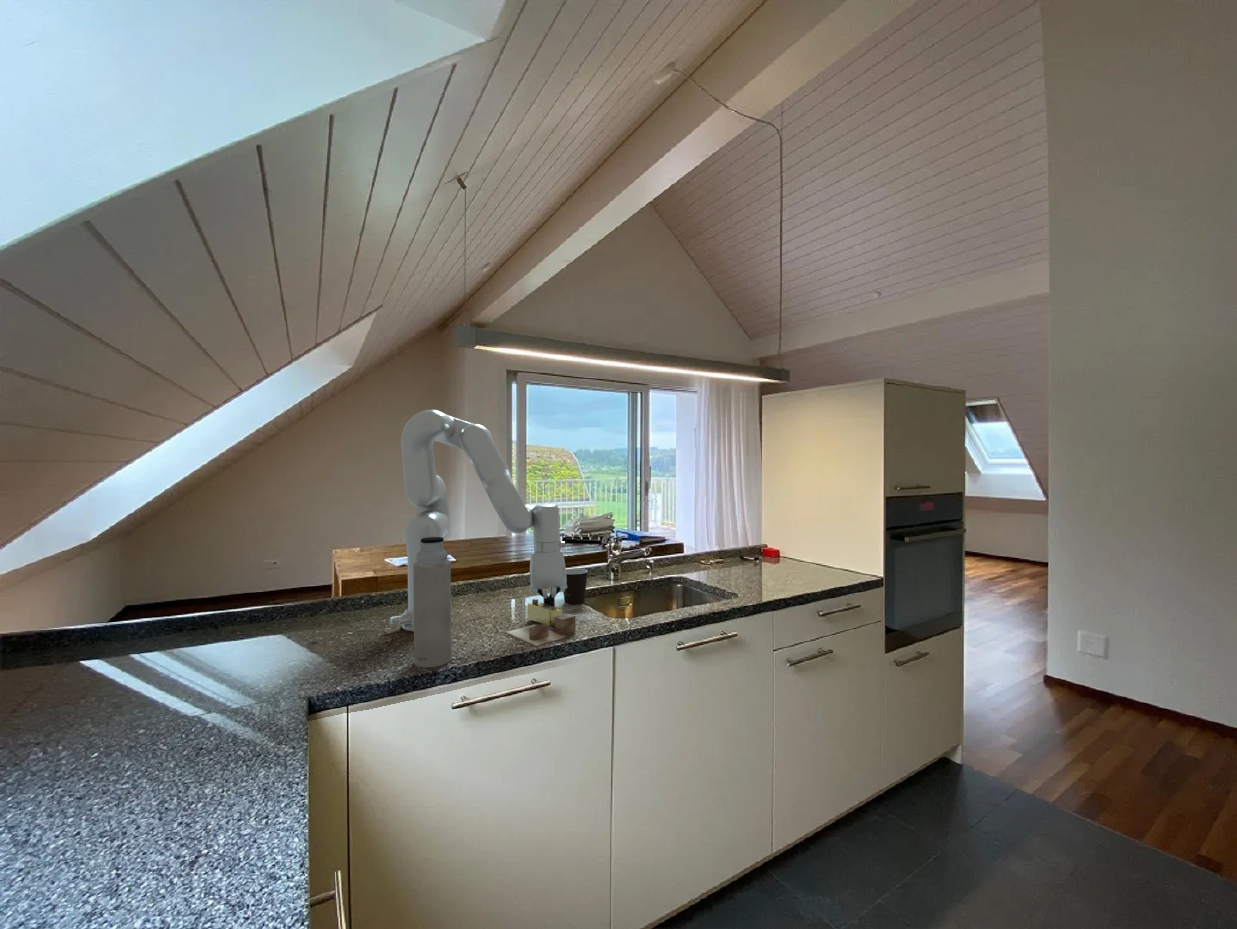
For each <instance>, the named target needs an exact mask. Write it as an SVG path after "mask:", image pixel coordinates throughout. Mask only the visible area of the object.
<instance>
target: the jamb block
mask: <svg viewBox="0 0 1237 929" xmlns="http://www.w3.org/2000/svg"><path fill="white" fill-rule="evenodd" d="M554 632H555V633H557V634H560V635H564V636H566V637H567V636H568V635H572V634H575V633H576V615H574V614H571V613H565V614H562V615H561V616H557V617H555V631H554Z"/></svg>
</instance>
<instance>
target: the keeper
mask: <svg viewBox="0 0 1237 929" xmlns="http://www.w3.org/2000/svg"><path fill="white" fill-rule="evenodd" d="M529 635H530V640H533V641H535V640H538V639H542V638H545V637H549V625H547V624H542V623H540V624H537V626H534V627H530V628H529Z"/></svg>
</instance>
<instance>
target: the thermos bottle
mask: <svg viewBox="0 0 1237 929" xmlns="http://www.w3.org/2000/svg"><path fill="white" fill-rule="evenodd" d="M444 541H445V540H444V537H428V538H422V539H421V551H420V552H418V553H417V557H416V559H417V562H416V563H414V564H413V582H414V631H413V664H414V665H415V666H416V667H418V668H426V669H427V668H428V669H429V668H436V667H439V666H443V665H446V664H447V663H450V661H452V586H451V585H452V579H451V578H452V577H451V576H452V575H451V574H452V572H451V571H452V568H451V566H452V565H451V564H452V563H451V560H449V559H448V556H449V554H448V551H447V550H445V549H444V543H443V542H444Z"/></svg>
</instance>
